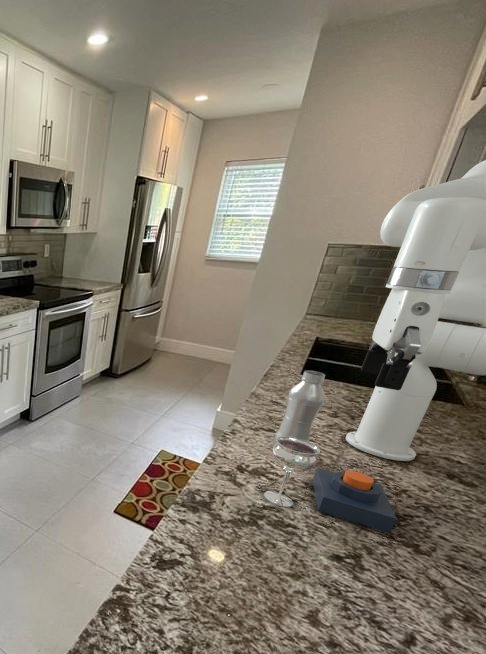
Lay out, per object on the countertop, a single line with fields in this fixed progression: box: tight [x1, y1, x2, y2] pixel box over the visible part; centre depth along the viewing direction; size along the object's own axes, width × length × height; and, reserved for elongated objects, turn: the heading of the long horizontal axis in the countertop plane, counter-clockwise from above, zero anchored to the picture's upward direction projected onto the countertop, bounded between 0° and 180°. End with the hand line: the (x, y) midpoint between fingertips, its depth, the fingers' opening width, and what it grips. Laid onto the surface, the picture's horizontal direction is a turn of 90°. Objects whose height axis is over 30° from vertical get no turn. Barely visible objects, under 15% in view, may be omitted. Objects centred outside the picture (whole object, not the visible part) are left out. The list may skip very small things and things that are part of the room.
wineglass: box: [263, 436, 321, 507], centre depth 77 cm, size 7×7×12 cm
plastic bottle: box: [272, 369, 326, 446], centre depth 93 cm, size 6×7×20 cm
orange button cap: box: [343, 470, 375, 490], centre depth 77 cm, size 4×4×2 cm
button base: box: [312, 467, 397, 534], centre depth 78 cm, size 12×10×5 cm
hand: (378, 380), depth 72 cm, fingers open, 9 cm apart
